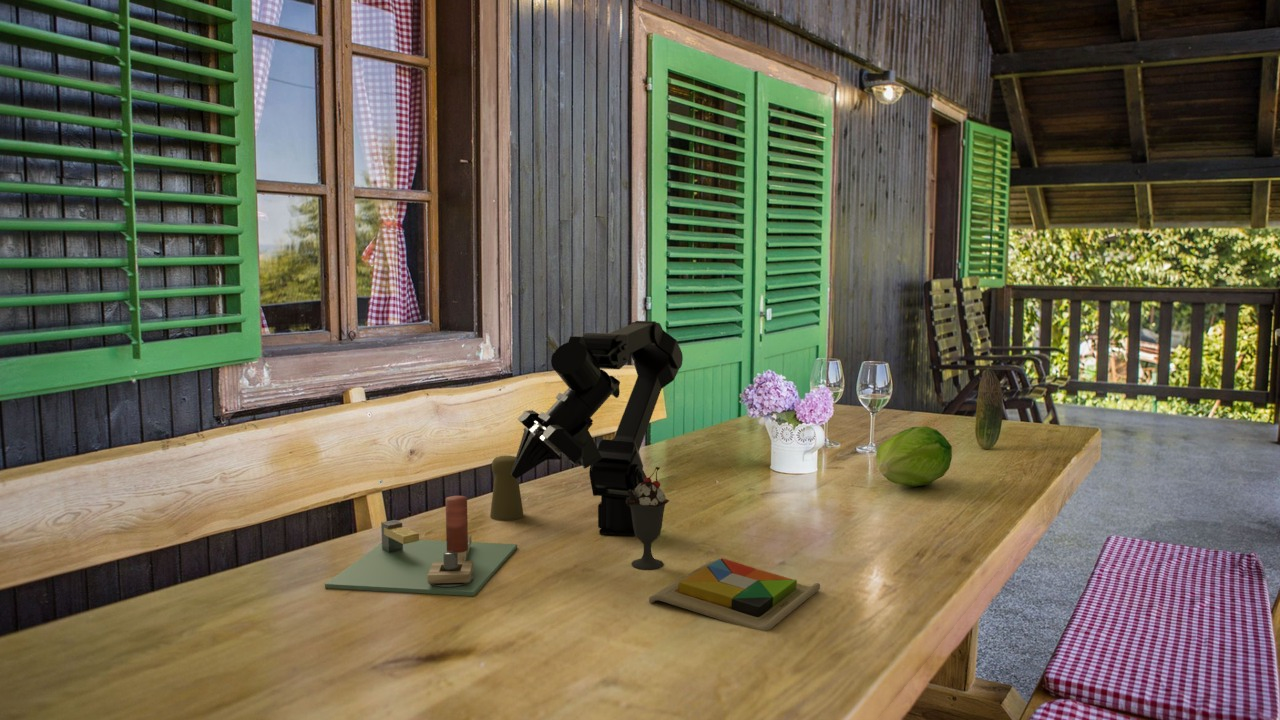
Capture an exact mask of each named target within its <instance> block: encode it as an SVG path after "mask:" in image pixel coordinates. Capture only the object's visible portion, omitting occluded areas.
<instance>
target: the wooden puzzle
mask: <svg viewBox="0 0 1280 720" xmlns="http://www.w3.org/2000/svg"><path fill="white" fill-rule="evenodd" d="M819 590H821V584H820V583H818V582H816V583H814V584H812V585H811V586H808V585H805V584H801V583H798V580H797V579H793V578H790V577H787V576H783V575H779V574H777V573H772V572H769V571H765V570H761V569H758V568H755V567H752V566H749V565H745V564H743V563H739V562H737V561H733V560H730V559H726V558H723V557H721V558H718V559H717V560H710V561H708V562H706V563H705V564H703V565H701V566H700V567H698V568H697V569H694V570H693V571H692V572H689V573H688V574H686V575H685V576H684V577H681V578H680V579H678V580H676V581H675V582H672V583H670V584H669V585H668V586H666V587H664V588H662V589H661V590H659V591H657V592H655V593H653V594H652V595H650V596H649V597H648V602H649V604H654V603H656V602H658V601H660V602H664V603H666V604H669V605H672V606H675V607H679V608H682V609H684V610H689V611H692V612H694V613H698V614H701V615H704V616H707V617H710V618H714V619H716V620H718V621H722V622H725V623H729V624H733V625H736V626H740V627H743V628H745V627H746V628H748V629H753V630H757V631H761V632H768V631H770V630H771V629H773V628H774V627H775V626H777V625H778V624H779V623H780V622H781V621H783V619H785V618H786V617H787V616H788V615H789V614H791V613H792V612H793V611H795V610H796V609H797V608H798V607H800V606H801V605H802V604H803V603H804V602H806V601H807V600H808V599H810V598H811V597H812V596H813V595H814V594H816V593H817V592H818V591H819Z"/></svg>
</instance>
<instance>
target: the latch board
mask: <svg viewBox="0 0 1280 720" xmlns="http://www.w3.org/2000/svg"><path fill="white" fill-rule="evenodd" d="M517 549H518V544H517V543H501V542H498V543H496V542H479V541H471V545H470V548H469V552H468V555H467V558H466V561H473V572H472V574H473V576H474V580H473V581H472V582H471V583H469V584H467V585H464V586H460V587H453V588H440V587H435V586H432V585H430V584H429V583H428V573H429V571H430V568H431V566H432V563H433V562H444V557H443V553H444V552H447V541H446V540H439V539H437V540H436V539H419V541H416V542H412V543H407V544H403V550H400V551H396V552H391V553H388V552H386V551H384V550H382V542H381V543H379V544H378V545H377V546H375V547H374V548H373V549H371V550H370V551H368V552H367V553H365V554H363V555H362V556H361V557H360V558H359V559H358V560H357V559H356V561H354V562H353V563H352V564H350V565H349V566H348V567H346V568H345V569H343V570H342V571H341V572H339V573H338V574H337V575H335V576H334V577H332V578H331V579H330V580H329V581H327V582H326V583H324V589H335V590H338V589H340V590H353V591H354V590H355V591H371V592H388V593H389V592H390V593H408V594H409V593H410V594H425V595H426V594H427V595H428V594H429V595H442V596H443V595H444V596H448V595H449V596H463V597H465V596H466V597H475V596H476V594H478V593H479V591H480V590H481V589H482V588H483V587H484V585H486V583H488V581H489V580H490V579H491V578H492V576H494V575H495V574H496V573H497V571H498V570H499V569H500V568H501V567H502V565H503V564H504V563H505V562H506V561H507V560H508V559H509V558H510V557H511V555H513V553H514V552H516V550H517Z"/></svg>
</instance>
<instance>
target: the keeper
mask: <svg viewBox="0 0 1280 720" xmlns="http://www.w3.org/2000/svg"><path fill="white" fill-rule="evenodd" d="M380 523H381V525H380V526H381V543H382V550H384V551H386V552H388V553H391V552H396V551H400V550H403V544H407V543H412V542H416V541H419V540H420V533H418V532H417V531H414V530H412V529H411V528H408V527H406V526H405V525H403V522H401V521H400V520H397V519H393V520H392V519H391V520H387V521H386V520H385V521H382V522H380Z"/></svg>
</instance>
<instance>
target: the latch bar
mask: <svg viewBox="0 0 1280 720" xmlns="http://www.w3.org/2000/svg"><path fill="white" fill-rule="evenodd" d="M445 528H446V529H445V530H446V531H445V532H446V534H445V537H446V540H445V541H447V551H456V552H458V571H445V572H444V562H433V563H432V566H431V568H430V571H429V573H428V583H466V582H470V579H471V575H472V572H473V561H466V558H467V555H468V552H469V548H470V545H471V542H472V534H471V533H469V531H468V529H469V527H468V496H464V495H451V496H448V497H446V498H445ZM468 533H469V534H468Z"/></svg>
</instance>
